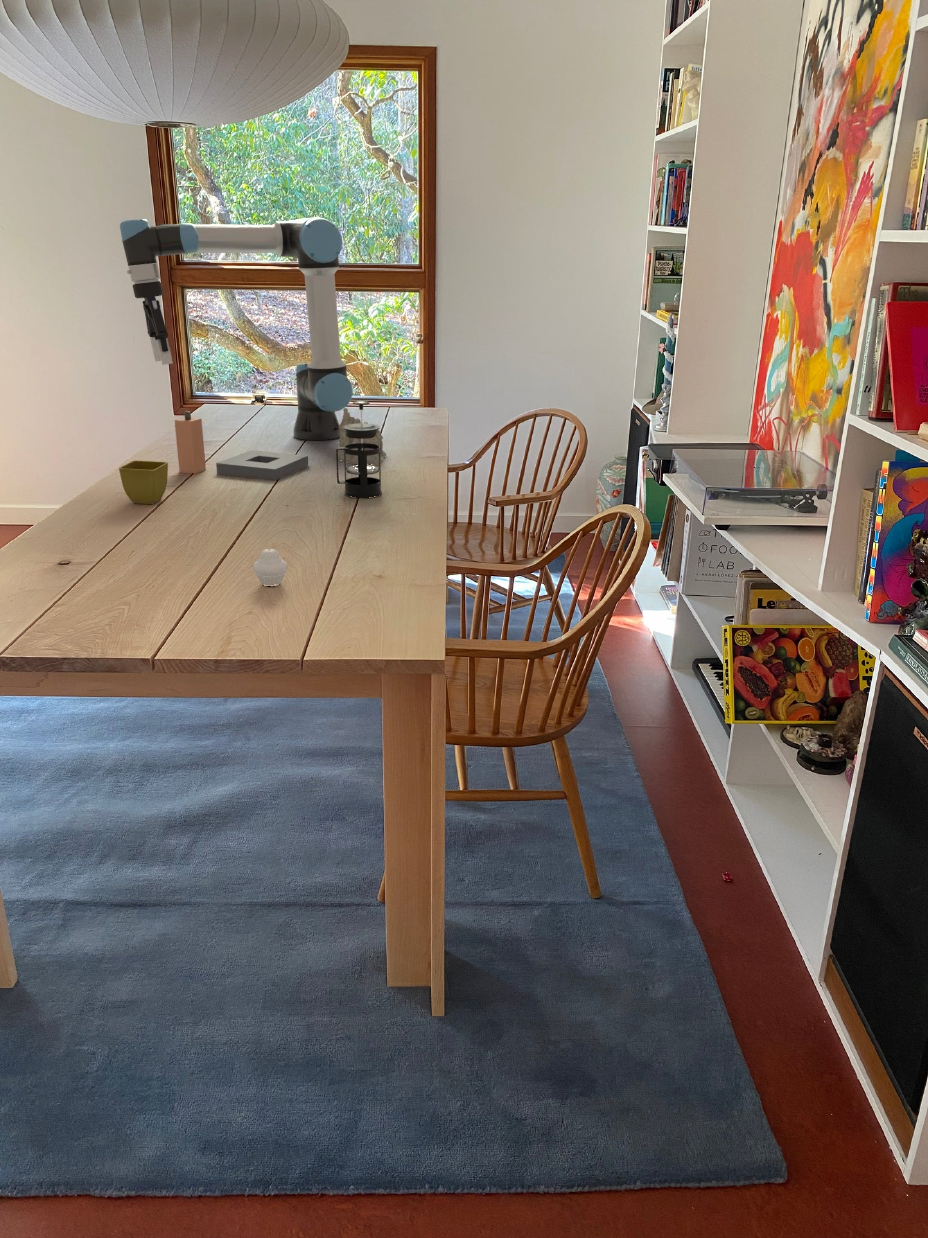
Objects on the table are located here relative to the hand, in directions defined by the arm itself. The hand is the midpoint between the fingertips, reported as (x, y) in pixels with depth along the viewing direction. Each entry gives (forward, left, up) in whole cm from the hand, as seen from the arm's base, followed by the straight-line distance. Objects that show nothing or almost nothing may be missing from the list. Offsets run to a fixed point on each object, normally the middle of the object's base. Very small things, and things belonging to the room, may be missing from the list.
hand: (163, 362), depth 262 cm
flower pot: (+14, +47, -27) cm, 56 cm away
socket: (-20, +25, -27) cm, 42 cm away
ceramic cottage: (-51, +21, -27) cm, 62 cm away
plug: (-2, +19, -27) cm, 33 cm away
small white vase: (+2, +115, -27) cm, 118 cm away
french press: (-36, +59, -27) cm, 74 cm away
